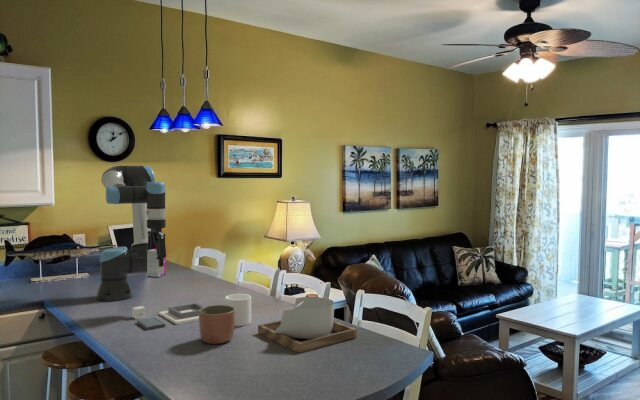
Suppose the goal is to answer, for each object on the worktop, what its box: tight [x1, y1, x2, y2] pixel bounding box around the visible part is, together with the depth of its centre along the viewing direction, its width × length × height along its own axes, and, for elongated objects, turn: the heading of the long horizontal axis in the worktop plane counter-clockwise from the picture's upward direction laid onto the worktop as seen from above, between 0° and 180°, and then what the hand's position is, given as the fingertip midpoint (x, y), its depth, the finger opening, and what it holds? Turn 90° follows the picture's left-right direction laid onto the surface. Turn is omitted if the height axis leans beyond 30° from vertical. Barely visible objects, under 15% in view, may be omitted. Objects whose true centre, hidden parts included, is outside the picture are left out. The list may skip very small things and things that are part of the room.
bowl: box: [275, 296, 335, 340], centre depth 179 cm, size 20×19×12 cm
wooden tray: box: [257, 320, 358, 354], centre depth 179 cm, size 25×25×3 cm
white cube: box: [131, 305, 147, 320], centre depth 201 cm, size 5×4×4 cm
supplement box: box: [146, 249, 167, 279], centre depth 209 cm, size 6×6×12 cm
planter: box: [198, 304, 235, 345], centre depth 173 cm, size 12×12×11 cm
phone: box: [136, 317, 166, 331], centre depth 191 cm, size 11×7×1 cm, turn 39°
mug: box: [224, 293, 252, 328], centre depth 195 cm, size 13×10×10 cm
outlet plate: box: [158, 302, 205, 325], centre depth 204 cm, size 18×18×3 cm
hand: (156, 272), depth 209 cm, fingers closed on supplement box, 8 cm apart
